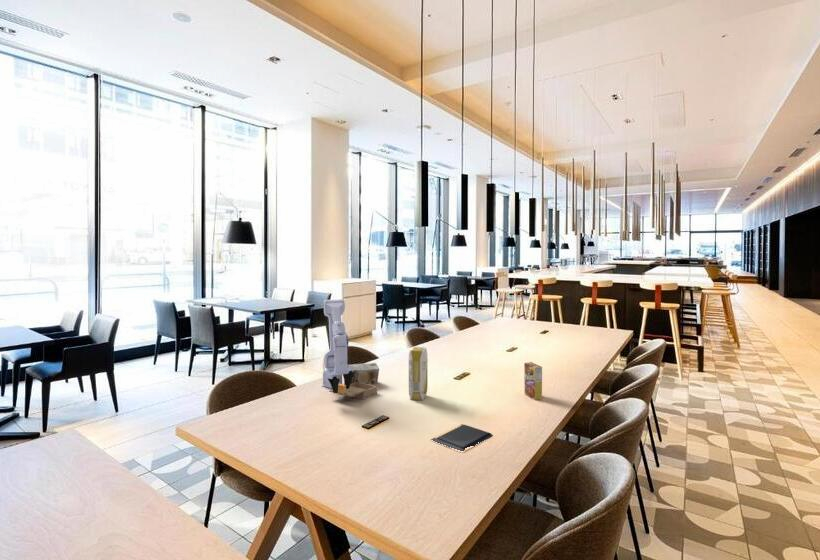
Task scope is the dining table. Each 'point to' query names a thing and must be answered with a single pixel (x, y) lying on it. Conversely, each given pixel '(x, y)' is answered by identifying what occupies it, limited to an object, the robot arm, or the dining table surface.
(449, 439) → the wallet
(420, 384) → the juice carton
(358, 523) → the dining table surface
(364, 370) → the coffee box
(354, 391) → the lid
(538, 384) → the candy box
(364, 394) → the carton
